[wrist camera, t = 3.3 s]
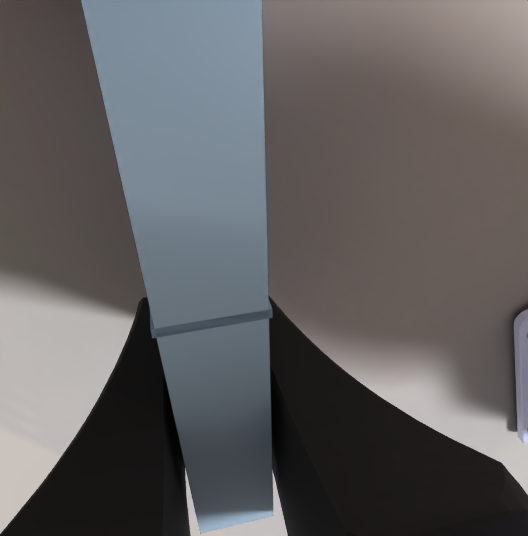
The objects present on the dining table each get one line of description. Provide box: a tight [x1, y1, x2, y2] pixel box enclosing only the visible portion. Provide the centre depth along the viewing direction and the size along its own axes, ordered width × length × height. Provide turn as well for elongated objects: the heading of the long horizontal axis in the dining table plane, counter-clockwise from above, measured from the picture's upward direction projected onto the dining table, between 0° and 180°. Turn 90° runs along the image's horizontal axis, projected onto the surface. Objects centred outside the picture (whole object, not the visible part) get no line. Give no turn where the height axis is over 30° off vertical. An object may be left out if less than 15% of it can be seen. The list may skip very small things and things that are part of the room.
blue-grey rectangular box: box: [81, 0, 273, 533], centre depth 8 cm, size 13×2×6 cm, turn 1°
